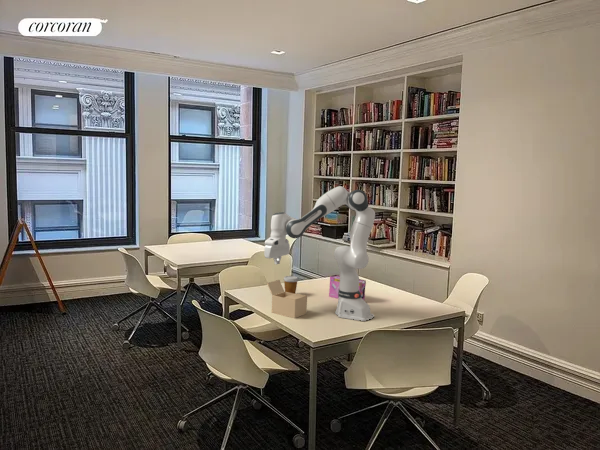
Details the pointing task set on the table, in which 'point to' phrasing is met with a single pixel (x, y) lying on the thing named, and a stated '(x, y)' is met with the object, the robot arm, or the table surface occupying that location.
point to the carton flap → (275, 287)
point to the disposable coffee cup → (290, 284)
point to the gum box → (336, 283)
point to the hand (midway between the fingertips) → (277, 264)
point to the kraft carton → (289, 304)
